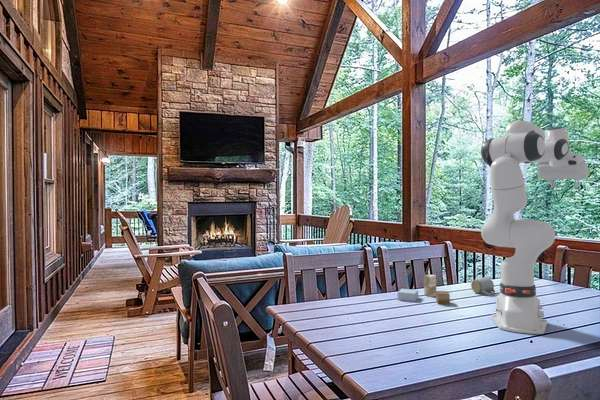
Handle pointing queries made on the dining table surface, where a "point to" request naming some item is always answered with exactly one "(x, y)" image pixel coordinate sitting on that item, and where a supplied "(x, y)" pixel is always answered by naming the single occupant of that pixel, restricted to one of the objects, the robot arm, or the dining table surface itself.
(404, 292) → the slate slab
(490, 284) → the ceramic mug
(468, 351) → the dining table surface
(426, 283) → the birch pillar
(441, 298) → the walnut cube
